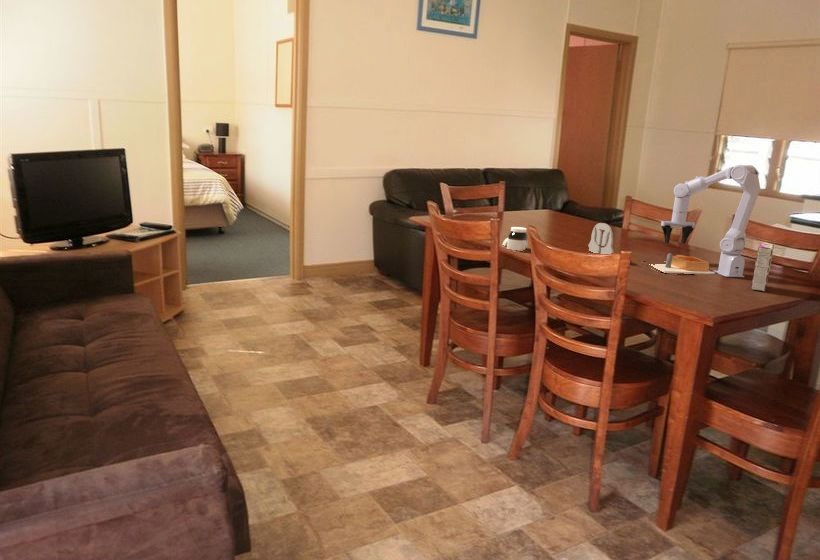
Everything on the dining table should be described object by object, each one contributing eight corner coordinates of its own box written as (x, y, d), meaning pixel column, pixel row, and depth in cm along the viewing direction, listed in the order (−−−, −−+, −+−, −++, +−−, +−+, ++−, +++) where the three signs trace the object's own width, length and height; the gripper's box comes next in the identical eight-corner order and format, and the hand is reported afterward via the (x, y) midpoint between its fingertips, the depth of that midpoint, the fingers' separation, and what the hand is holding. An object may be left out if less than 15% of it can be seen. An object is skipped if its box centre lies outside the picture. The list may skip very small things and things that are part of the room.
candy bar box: (752, 284, 242) (760, 242, 238) (766, 286, 239) (774, 244, 235) (749, 289, 232) (758, 246, 229) (765, 291, 230) (773, 248, 226)
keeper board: (714, 275, 253) (717, 258, 252) (663, 274, 251) (666, 256, 249) (688, 265, 273) (690, 249, 271) (640, 263, 270) (642, 247, 269)
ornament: (614, 267, 260) (619, 227, 256) (585, 267, 256) (590, 227, 252) (586, 256, 280) (590, 219, 276) (559, 256, 277) (564, 218, 273)
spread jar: (520, 257, 269) (523, 230, 267) (496, 253, 275) (498, 227, 272) (529, 253, 279) (532, 227, 277) (506, 249, 285) (508, 224, 282)
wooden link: (708, 271, 256) (709, 262, 255) (685, 270, 255) (686, 261, 254) (688, 263, 270) (690, 255, 269) (666, 262, 269) (668, 254, 268)
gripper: (690, 211, 272) (685, 241, 276) (659, 209, 270) (654, 240, 274) (699, 213, 266) (694, 244, 269) (667, 212, 264) (663, 243, 267)
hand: (675, 243), depth 271 cm, fingers open, 7 cm apart
